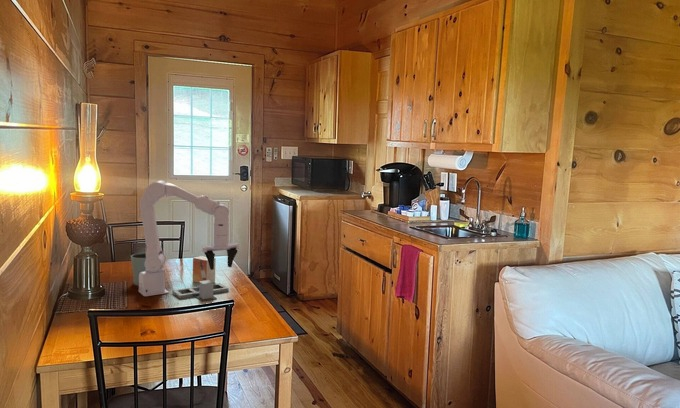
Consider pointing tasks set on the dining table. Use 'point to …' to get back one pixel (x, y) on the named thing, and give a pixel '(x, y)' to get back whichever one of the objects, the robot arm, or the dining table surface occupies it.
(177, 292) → the grey slotted plate
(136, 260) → the green bin
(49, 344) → the dining table surface
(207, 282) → the block
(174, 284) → the dining table surface
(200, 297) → the pad
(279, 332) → the dining table surface
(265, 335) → the dining table surface
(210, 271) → the small box
